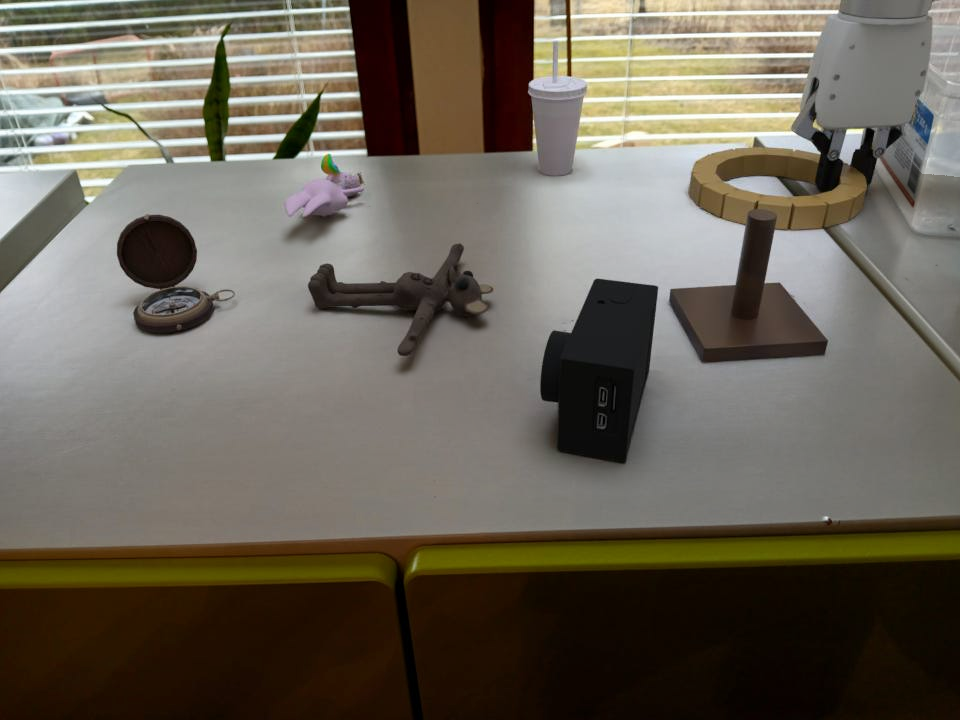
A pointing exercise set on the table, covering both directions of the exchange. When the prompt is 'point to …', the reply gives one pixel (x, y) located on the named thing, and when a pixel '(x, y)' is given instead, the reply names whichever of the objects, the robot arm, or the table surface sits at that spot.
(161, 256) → the compass
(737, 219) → the block ring
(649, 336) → the digital camera
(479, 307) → the bear figurine
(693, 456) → the table surface
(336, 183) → the rabbit figure
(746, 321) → the brown peg stand
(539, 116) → the smoothie
